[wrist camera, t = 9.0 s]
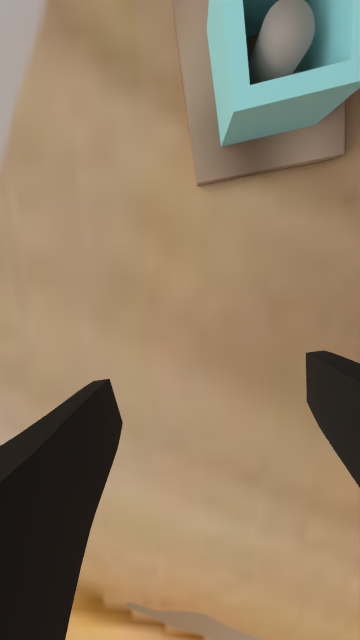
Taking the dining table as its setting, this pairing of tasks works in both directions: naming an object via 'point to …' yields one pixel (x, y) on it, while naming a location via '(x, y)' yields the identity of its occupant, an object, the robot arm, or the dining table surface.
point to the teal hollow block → (289, 91)
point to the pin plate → (208, 119)
